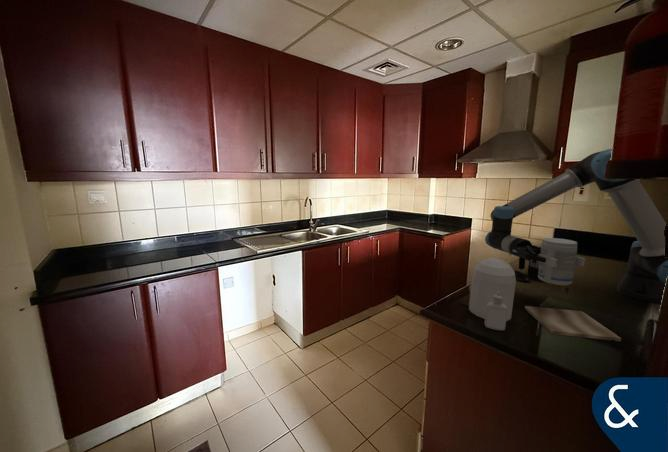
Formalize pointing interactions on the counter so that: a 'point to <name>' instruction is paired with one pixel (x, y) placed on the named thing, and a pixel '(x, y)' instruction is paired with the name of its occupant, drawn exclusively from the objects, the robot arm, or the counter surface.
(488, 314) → the eye dropper bottle
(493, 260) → the container
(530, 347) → the counter surface
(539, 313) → the board
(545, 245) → the supplement tub
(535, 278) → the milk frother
